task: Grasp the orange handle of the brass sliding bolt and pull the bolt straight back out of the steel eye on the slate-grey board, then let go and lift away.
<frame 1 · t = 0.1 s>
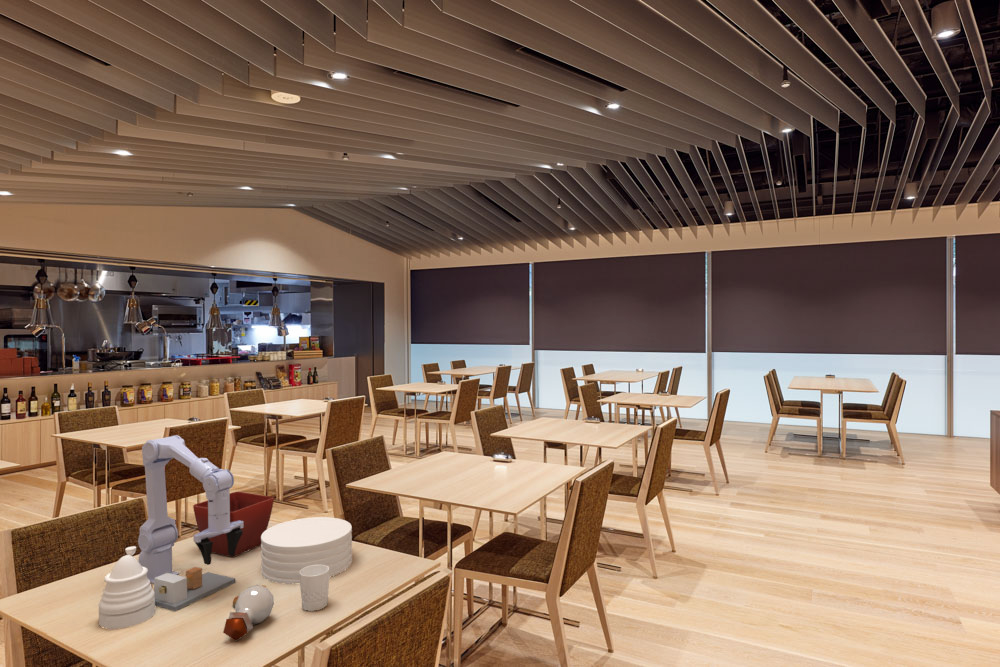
hand: (219, 559, 175), 10 cm above the table, tool pointing down, fingers open, 7 cm apart
pastry: (253, 603, 170), on the table
plate stack: (307, 566, 195), on the table
white cup: (315, 606, 167), on the table
honey pot: (127, 618, 161), on the table
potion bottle: (250, 628, 155), on the table
plant pot: (235, 549, 210), on the table
brass sliding bolt: (180, 584, 172), point 4 cm above the table, slide at 0.0 cm
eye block: (186, 595, 174), on the table
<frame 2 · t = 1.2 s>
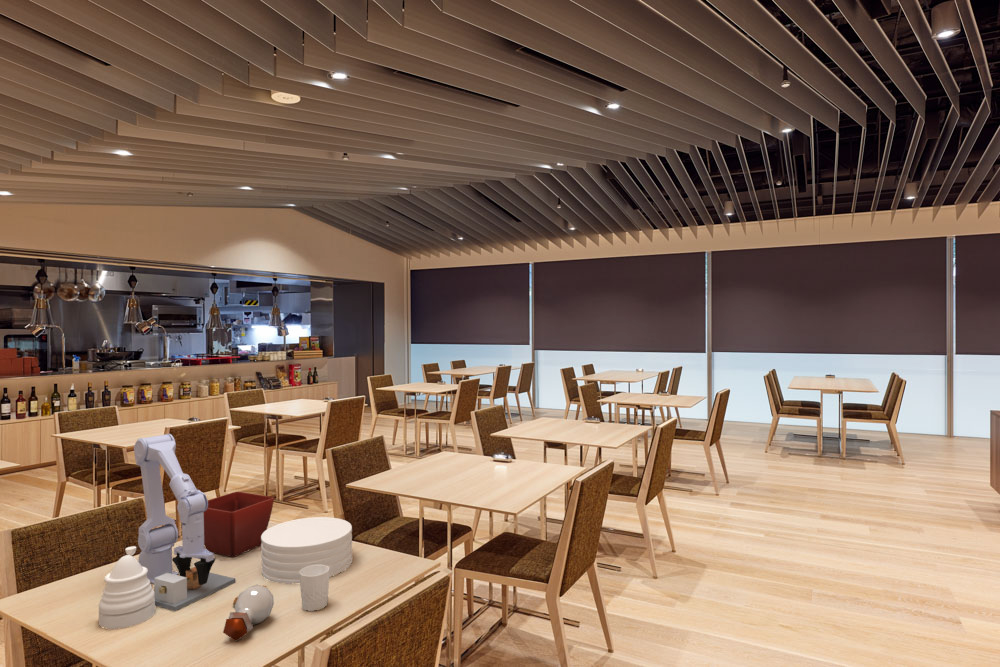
hand: (194, 581, 176), 3 cm above the table, tool pointing down, fingers open, 7 cm apart
nothing on the table moved.
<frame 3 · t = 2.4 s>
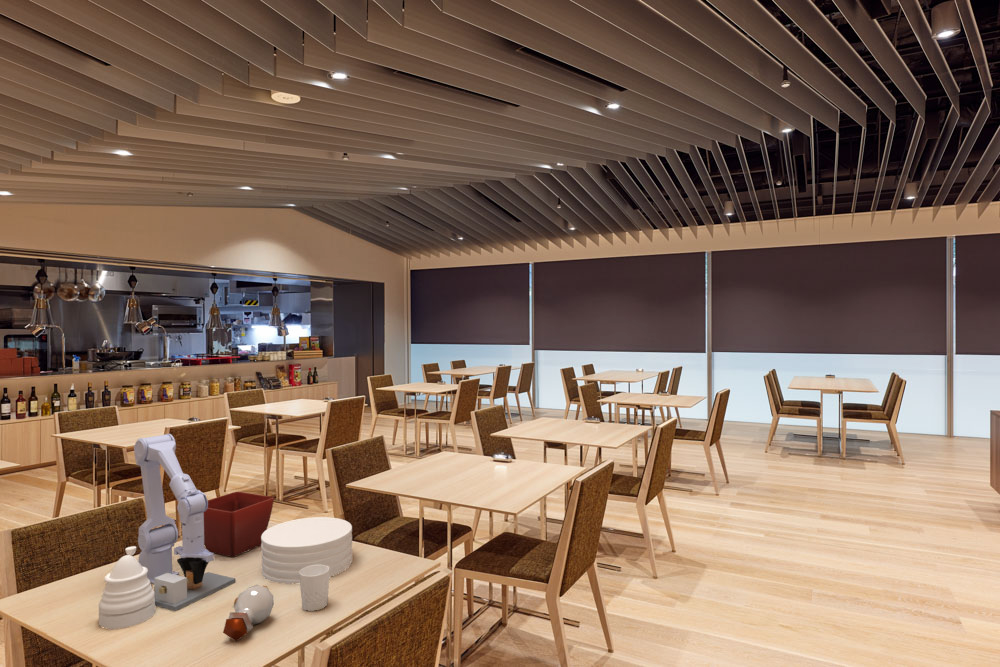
hand: (194, 581, 176), 3 cm above the table, tool pointing down, fingers closed on brass sliding bolt, 3 cm apart
brass sliding bolt: (180, 584, 172), point 4 cm above the table, slide at 0.0 cm, touching gripper
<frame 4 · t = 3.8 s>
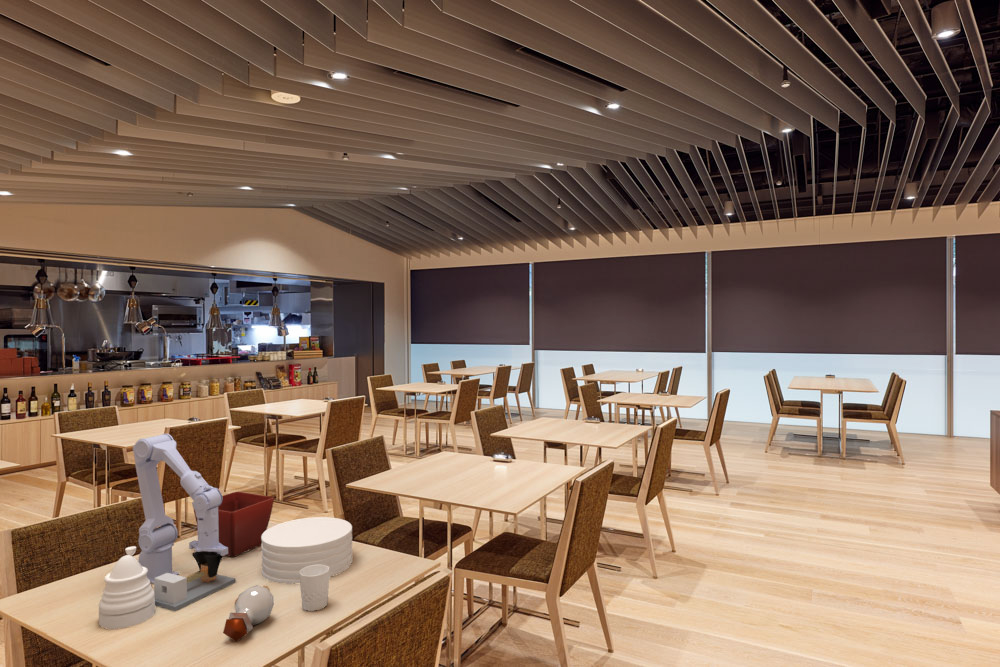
hand: (208, 575, 181), 3 cm above the table, tool pointing down, fingers closed on brass sliding bolt, 3 cm apart
brass sliding bolt: (195, 577, 177), point 4 cm above the table, slide at 5.0 cm, touching gripper
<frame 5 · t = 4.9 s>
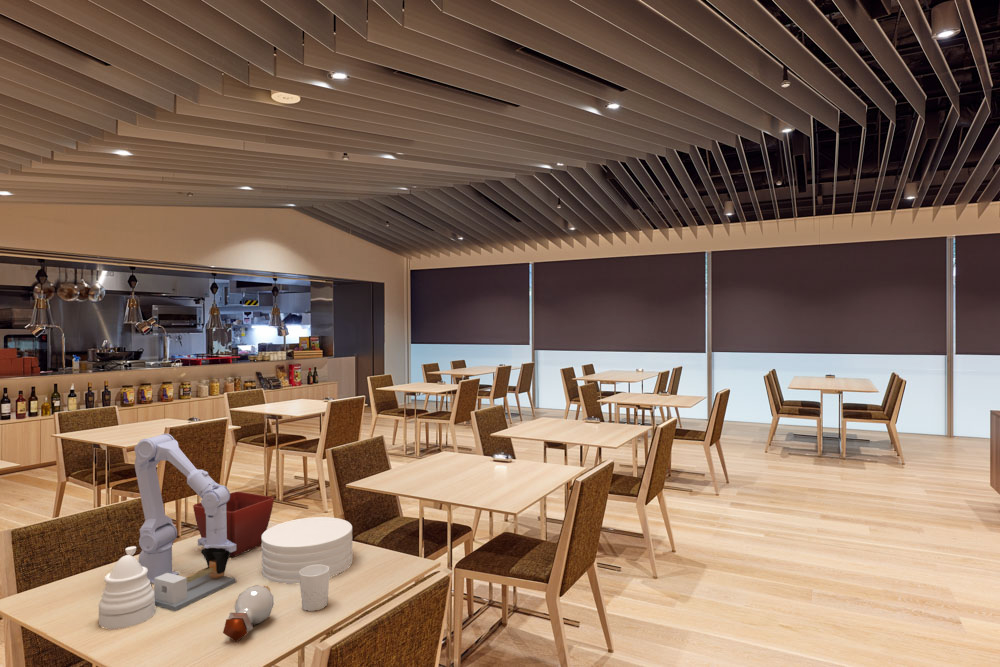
hand: (217, 571, 184), 3 cm above the table, tool pointing down, fingers closed on brass sliding bolt, 3 cm apart
brass sliding bolt: (204, 573, 179), point 4 cm above the table, slide at 7.9 cm, touching gripper
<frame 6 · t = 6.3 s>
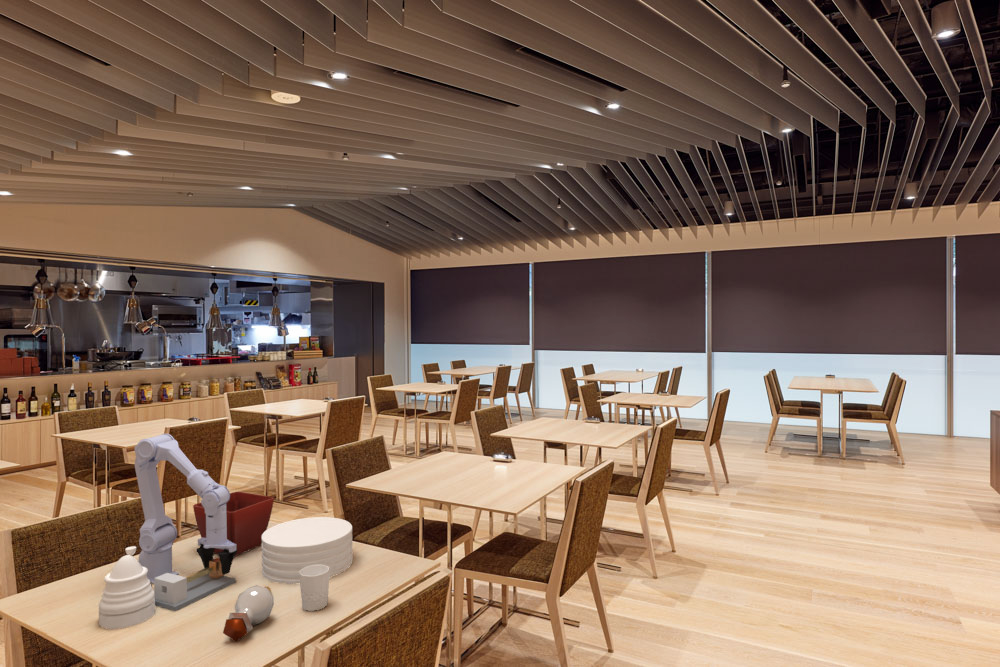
hand: (217, 571, 184), 3 cm above the table, tool pointing down, fingers open, 7 cm apart
brass sliding bolt: (204, 573, 179), point 4 cm above the table, slide at 7.9 cm
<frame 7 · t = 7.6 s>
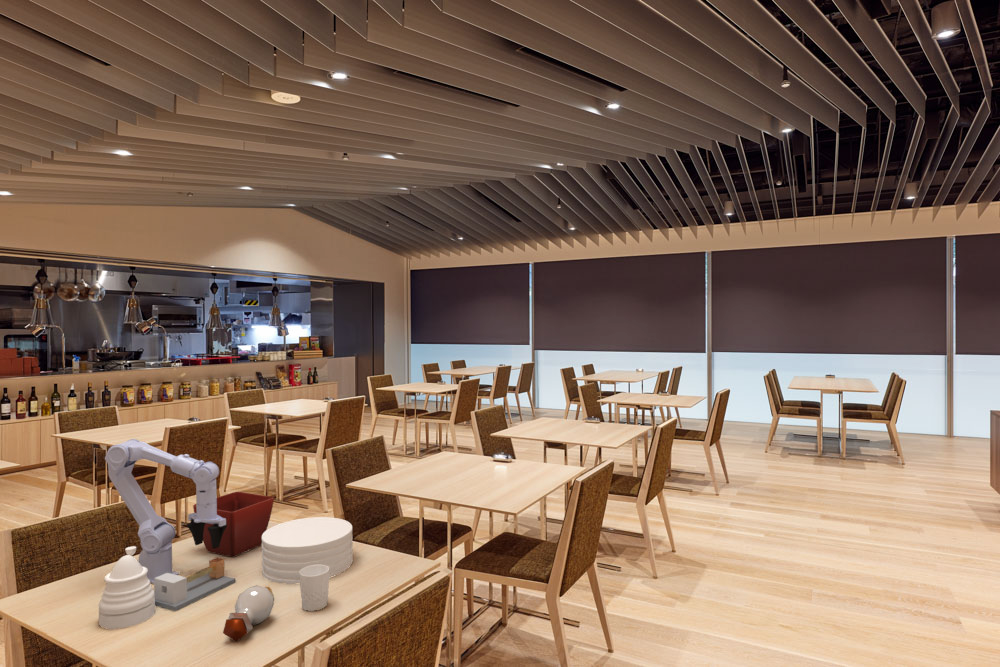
hand: (207, 545, 187), 9 cm above the table, tool pointing down, fingers open, 7 cm apart
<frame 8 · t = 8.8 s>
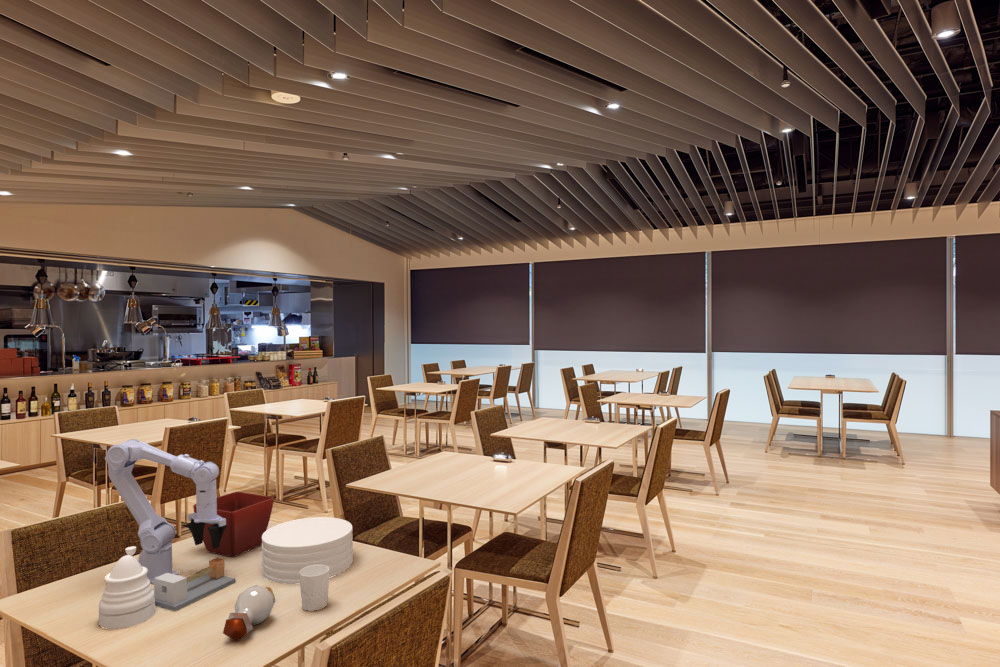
hand: (207, 545, 187), 9 cm above the table, tool pointing down, fingers open, 7 cm apart
at the end: brass sliding bolt slide at 7.9 cm; the gripper is holding nothing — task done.
